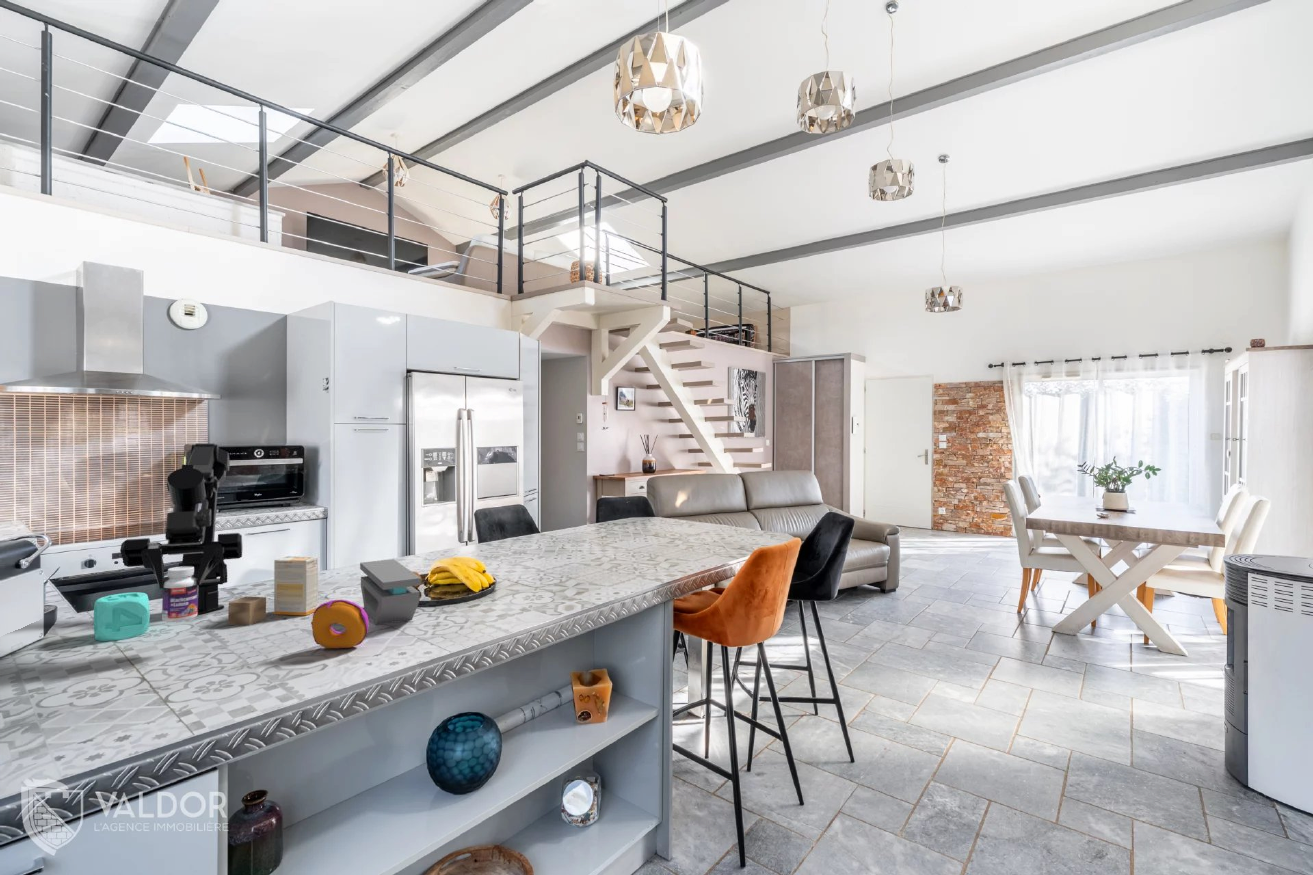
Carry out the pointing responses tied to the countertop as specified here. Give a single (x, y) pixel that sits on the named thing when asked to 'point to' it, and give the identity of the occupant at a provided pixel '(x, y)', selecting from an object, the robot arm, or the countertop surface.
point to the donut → (341, 614)
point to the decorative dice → (121, 616)
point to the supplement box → (295, 585)
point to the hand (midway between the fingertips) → (179, 585)
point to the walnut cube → (247, 610)
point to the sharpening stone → (389, 591)
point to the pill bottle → (180, 595)
